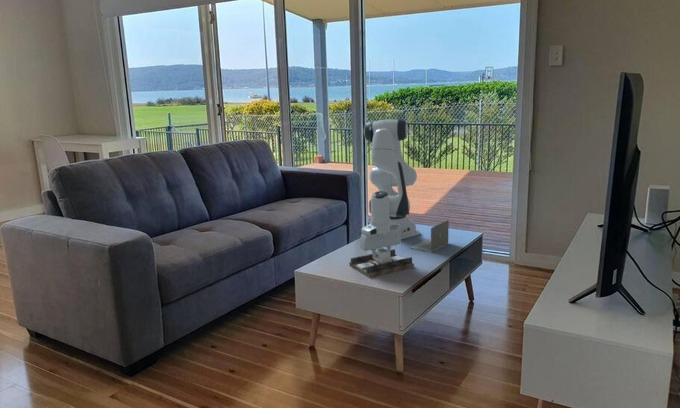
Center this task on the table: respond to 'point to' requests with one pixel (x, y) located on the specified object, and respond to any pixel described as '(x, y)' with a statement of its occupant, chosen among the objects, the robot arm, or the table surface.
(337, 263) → the table surface
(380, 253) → the block
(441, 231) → the laptop
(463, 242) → the table surface
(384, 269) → the rail board
